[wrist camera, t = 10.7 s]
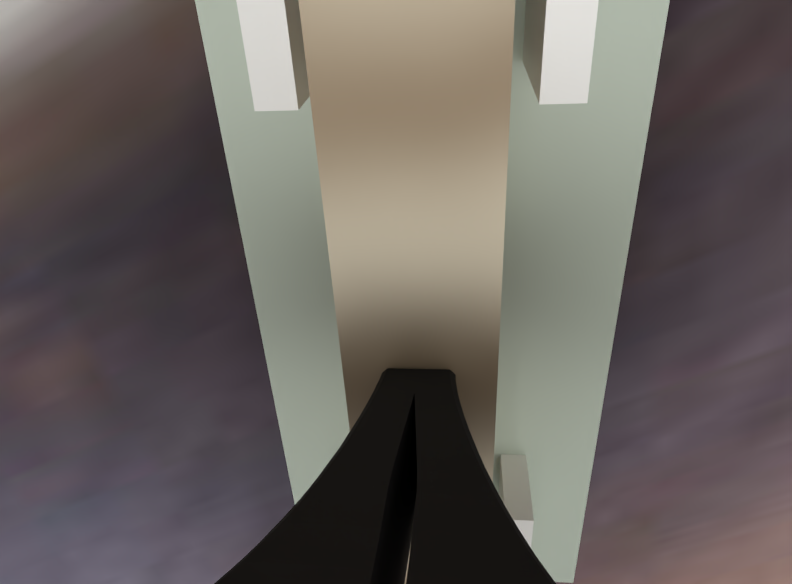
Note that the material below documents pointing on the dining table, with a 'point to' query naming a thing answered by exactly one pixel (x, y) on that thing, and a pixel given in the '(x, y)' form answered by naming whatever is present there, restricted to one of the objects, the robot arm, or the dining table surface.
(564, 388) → the cap board
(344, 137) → the slat
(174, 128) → the dining table surface
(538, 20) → the end caps
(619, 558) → the dining table surface
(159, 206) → the dining table surface
